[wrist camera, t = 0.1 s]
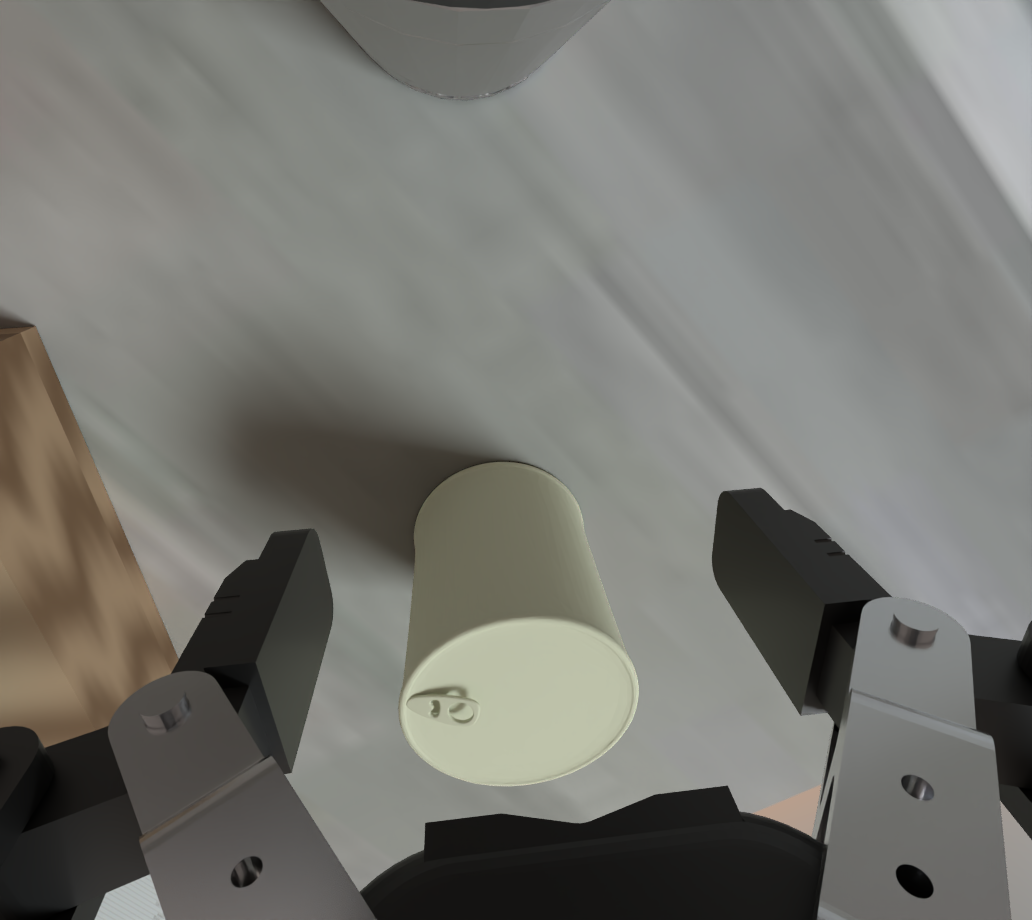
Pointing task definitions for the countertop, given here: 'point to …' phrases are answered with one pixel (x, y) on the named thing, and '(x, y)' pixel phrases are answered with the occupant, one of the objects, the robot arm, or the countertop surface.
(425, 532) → the can
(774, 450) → the countertop surface
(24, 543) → the slot box
